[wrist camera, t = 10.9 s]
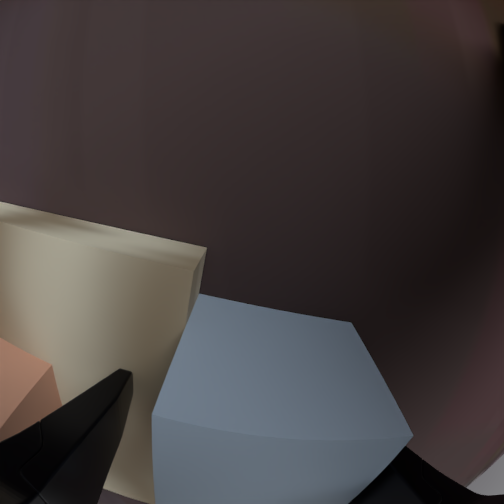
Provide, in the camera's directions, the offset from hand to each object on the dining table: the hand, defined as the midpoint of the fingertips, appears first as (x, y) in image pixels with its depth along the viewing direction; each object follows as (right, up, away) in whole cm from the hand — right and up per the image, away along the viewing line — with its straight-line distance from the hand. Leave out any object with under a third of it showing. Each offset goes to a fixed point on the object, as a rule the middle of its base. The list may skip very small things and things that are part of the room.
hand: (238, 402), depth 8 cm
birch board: (-9, 0, +2) cm, 9 cm away
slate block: (+1, 0, +2) cm, 2 cm away
